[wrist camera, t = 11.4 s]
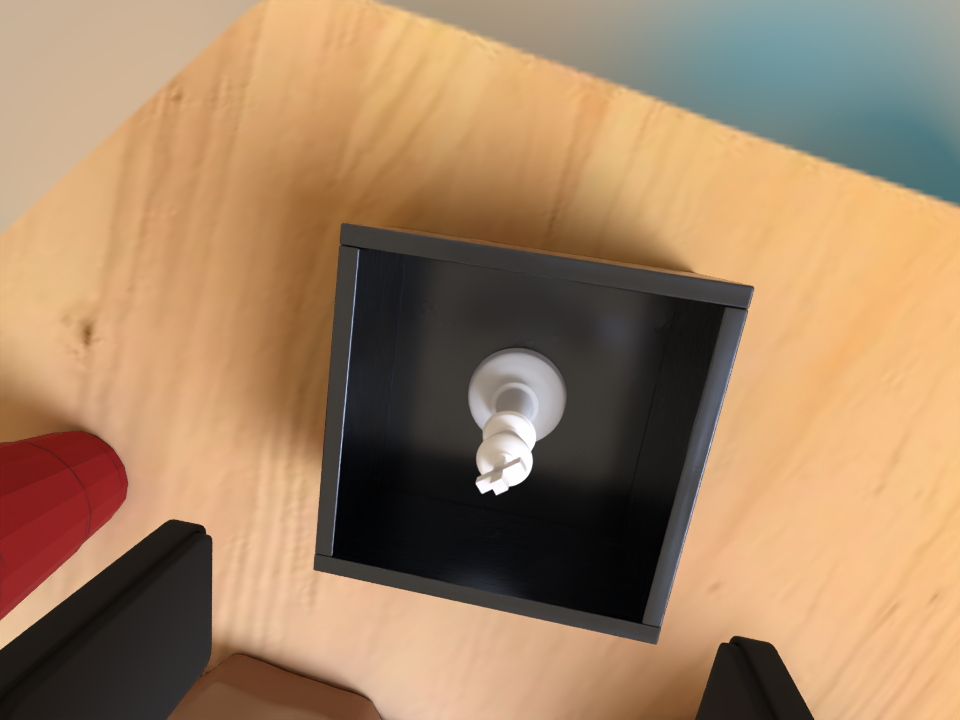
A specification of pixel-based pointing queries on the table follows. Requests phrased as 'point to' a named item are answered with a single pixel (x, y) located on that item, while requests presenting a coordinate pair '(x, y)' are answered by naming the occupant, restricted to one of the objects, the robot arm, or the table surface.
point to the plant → (267, 696)
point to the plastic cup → (52, 505)
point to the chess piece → (513, 413)
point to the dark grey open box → (556, 458)
